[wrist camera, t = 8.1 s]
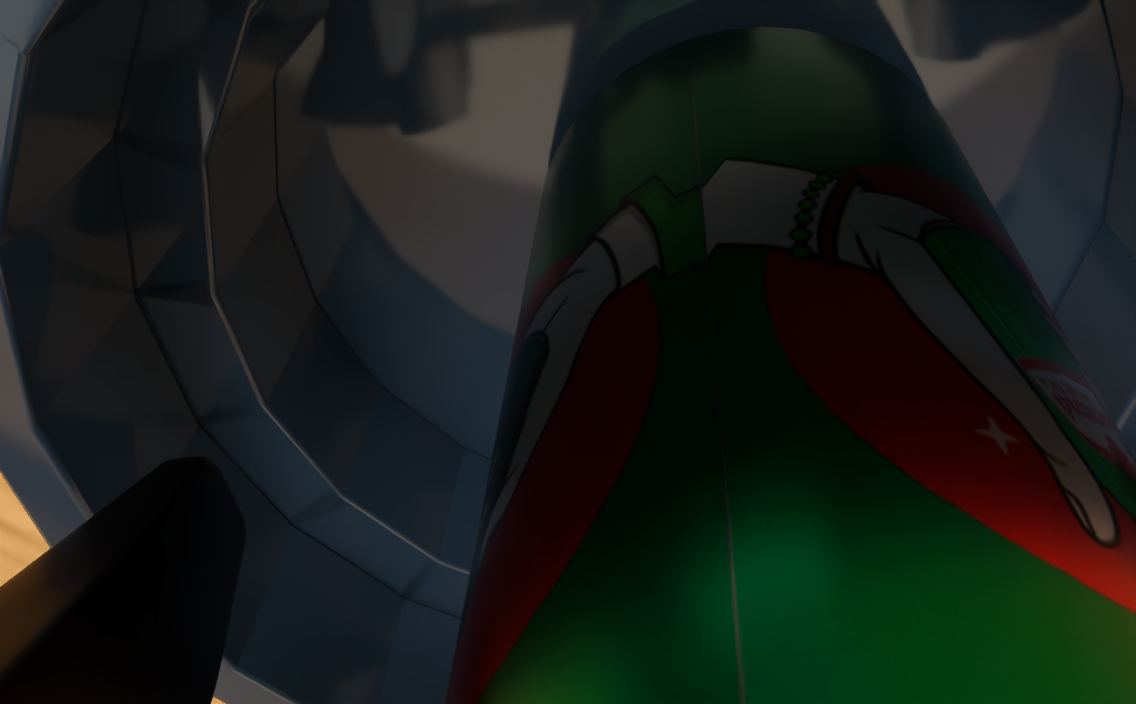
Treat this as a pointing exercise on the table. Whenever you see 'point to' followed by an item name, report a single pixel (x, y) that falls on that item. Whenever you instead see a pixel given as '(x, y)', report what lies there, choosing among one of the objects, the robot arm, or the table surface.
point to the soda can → (791, 415)
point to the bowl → (415, 262)
